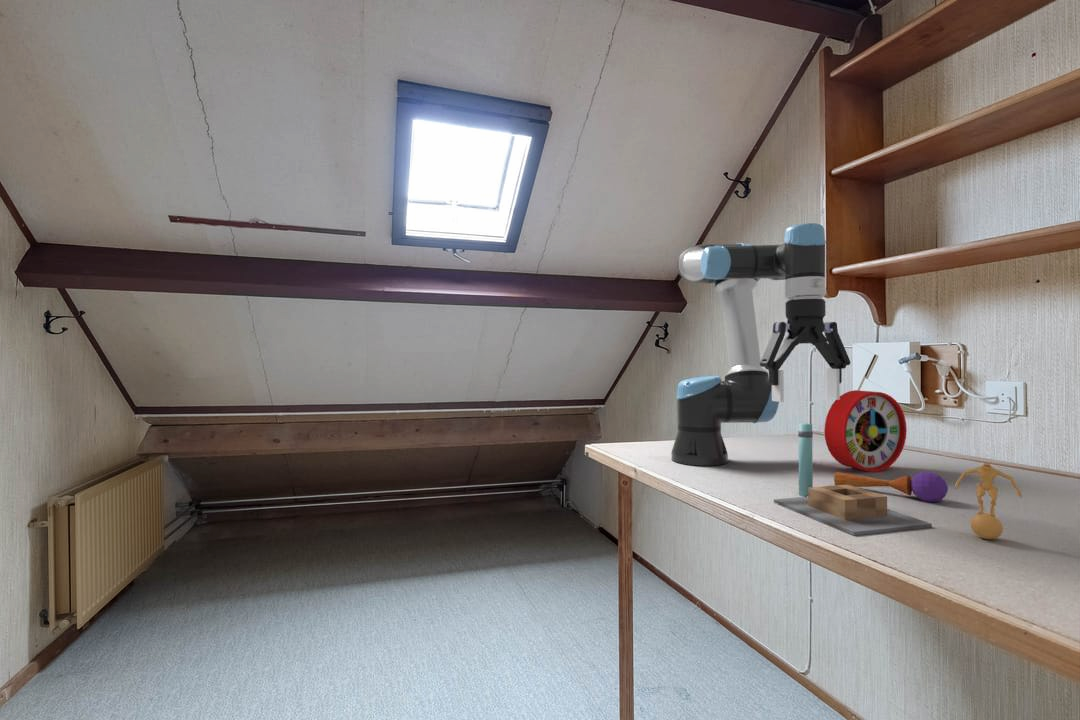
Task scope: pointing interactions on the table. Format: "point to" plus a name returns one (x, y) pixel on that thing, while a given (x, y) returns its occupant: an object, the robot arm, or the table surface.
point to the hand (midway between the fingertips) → (805, 400)
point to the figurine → (988, 523)
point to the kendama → (902, 484)
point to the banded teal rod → (805, 458)
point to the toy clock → (865, 430)
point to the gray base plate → (851, 510)
